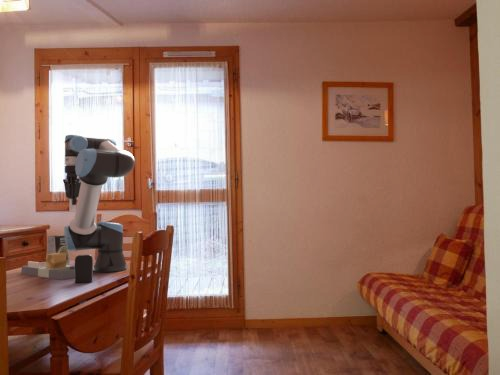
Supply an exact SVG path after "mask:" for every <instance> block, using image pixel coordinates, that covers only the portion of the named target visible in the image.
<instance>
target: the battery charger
mask: <svg viewBox="0 0 500 375" xmlns="http://www.w3.org/2000/svg"><path fill="white" fill-rule="evenodd" d="M74 266H75V278H74V283H75V284H85V283H91V282H93V272H94V258H93V255H92V254H90V253H89V254H88V253H87V254H78V255H76V256H75V258H74Z"/></svg>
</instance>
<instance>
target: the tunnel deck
mask: <svg viewBox="0 0 500 375" xmlns="http://www.w3.org/2000/svg"><path fill="white" fill-rule="evenodd" d="M21 275H27V276H28V275H29V276H33V277H34V276H35V277H41V278H46V279H52V280H53V279H54V280H61V281H65V280H70V279H75V265H70V264H69V265H66V267H62V268H55V269H52V268H46V262H43V263H42V262H38V261H29V260H28V261H27V265H21Z"/></svg>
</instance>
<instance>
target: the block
mask: <svg viewBox="0 0 500 375" xmlns="http://www.w3.org/2000/svg"><path fill="white" fill-rule="evenodd" d="M45 263H46V268H52V269H55V268H62V267H66V254H65V253H53V254H47V253H46V254H45Z"/></svg>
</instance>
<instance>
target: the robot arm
mask: <svg viewBox="0 0 500 375" xmlns="http://www.w3.org/2000/svg"><path fill="white" fill-rule="evenodd" d="M64 165H65V166H64V173H65V174H66V177H65V178H64V179H62V182H63V184H64V191H65V197H66V198H68V205H69V207H68V208H69V209H68V210H69V211H68V212H74V218H73V219H72V220H70V222H69V224H67V225H65V226H64V229H63V230H64V231H63V232H64V233H63V235H65V243H66V247H67V249H68V250H70V251H75V252H77V251H89V250H97V257H96V260H95V263H94V264H93V272H97V273H113V272H120V271H121V272H122V271H125V270H127V268H128V267H127V265H128V264H127V261H126V257H125V256H124V226H123V224H121V223H118V222H107V221H98V222H97V224H96V222H95V218H96V215H97V210H98V206H99V201H100V198H101V192H102V188H103V186H104V185H105V184H106V183H107V182H108V178H122V177H125V176H127V175H128V174H130V173H131V172H132V171H133V170H134V168H135V165H136V160H135V156H133V154H132V153H131V152H130V151H127V150H125V149H121V148H119V147H118V146H117V143H116V141H115V139H109V138H95V137H94V138H93V137H84V136H83V135H82V136H81V135H77V134H67V135H65V137H64Z"/></svg>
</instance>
